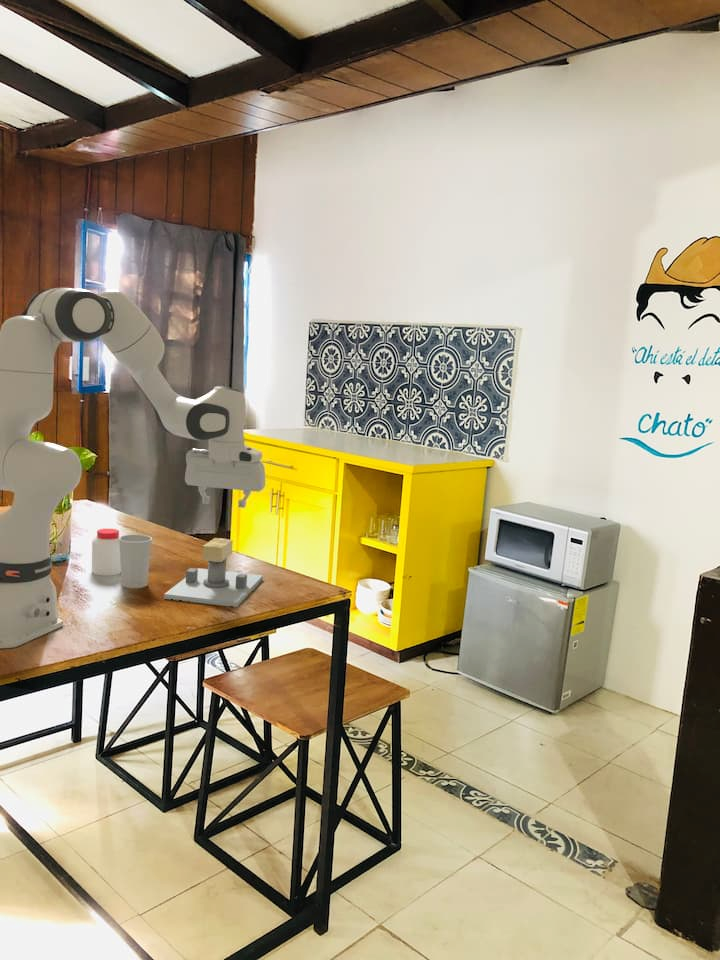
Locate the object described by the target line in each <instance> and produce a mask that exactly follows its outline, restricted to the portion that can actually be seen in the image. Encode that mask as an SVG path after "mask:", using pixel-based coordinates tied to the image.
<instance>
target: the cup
mask: <svg viewBox="0 0 720 960" xmlns="http://www.w3.org/2000/svg"><path fill="white" fill-rule="evenodd" d="M152 542H153V537H152V536H150V535H146V534H137V533H136V534H124V535H122V536H119V545H120V562H121V573H120V578H121V580H120V582H121V583H120V585H121V587H123V588H127V589H142V588H145V587H147V586H148V579H149V569H150V560H151V553H152V552H151V551H152V544H153V543H152Z"/></svg>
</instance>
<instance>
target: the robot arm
mask: <svg viewBox="0 0 720 960" xmlns="http://www.w3.org/2000/svg"><path fill="white" fill-rule="evenodd" d="M146 315H147V314H145V313H144V312H143V311H142V310H141V308H140V307H139V306H138V305H137V304H136V303H135V302H133V300H132V299H130V297H128V296H127V295H126V294H125V293H123V292H122V291H120V290H118V289H106V290H103V291H101V292H99V293H95V292H94V291H91V290H88V289H84V288H71V287H65V286H64V287H55V288H46V289H43V290H41V291H39V292H37V293H35V294H34V295H33V296H32V297H31V298H30V300H29V301H28V303H27V304H26V307H25V309H24V310H23V312H22V314H21V315H15V316H13V317H9V318H8V319H6V320H5V321H4V322H3V323H2V324H1V328H0V491H7V492H11V493H13V500H12V504H11V506H10V508H9V509H7V510H5V511H3V512H1V513H0V649H12V648H16V647H18V646H22V645H23V644H27V643H29V642H31V641H32V640H34V639H37V638H39V637H42V636H43V635H46V634H48V633H51V632H52V631H54V630H57V629H60V628H62V627H63V626H64V621H63V619H61V618H60V617H59V612H58V611H59V610H58V597H57V596H58V595H57V588H56V587H57V586H55V584H54V583H53V581H52V580H53V579H52V578H51V574H52V566H53V562H52V556H51V555H50V540H51V526H52V519H53V516H54V514H55V511H56V509H57V507H58V505H59V504H60V502H61V501H62V500H63V499H64V498H65V497H66V496H68V495H69V494H70V493H72V492H73V491H74V490H75V489H76V487H77V486H78V485H79V483H80V481H81V479H82V472H83V469H82V462H81V460H80V457H79V455H78V453H77V452H75V450H73V449H72V448H68V447H65V446H63V445H60V444H57V443H53V442H47V441H38V440H32V439H31V440H30V435H31V431H32V429H33V427H34V425H35V424H36V423H37V422H40V421H41V420H43V419H45V418H46V417H48V416H49V414H50V413H51V411H52V409H53V405H54V378H55V377H54V375H55V363H54V362H55V360H54V359H55V355H56V351H57V349H58V347H59V345H60V344H61V343H62V342H63V343H86V342H90V341H93V340H95V339H97V338H98V339H99V340H100V341H102V343H104V345H105V347H106V348H107V349H108V350H109V352H111V354H112V356H114V358H115V359H117V361H118V363H120V364H121V365H122V367H123V368H124V369H125V370H126V371H127V373H128V374H129V376H130V377H131V380H133V382H134V383H135V385H136V386H137V387H138V388H139V390H140V392H141V393H142V394H143V395H144V397H145V398H146V399H147V401H148V402H149V403H150V406H151V407H152V409H153V412H154V415H155V418H156V421H157V424H158V426H159V427H160V430H161V431H163V432H164V433H165V434H167V435H169V436H174V437H182V438H185V439H191V440H195V441H206V440H207V441H208V449H203V448H202V449H198V448H192V449H190V450H188V451H187V452H186V454H185V463H186V466H185V467H186V468H185V475H184V482H185V483H186V485H188V486H195V487H198V492H199V494H200V496H201V498H202V501H201V504H203V505H209V504H210V502H211V501H210V500H211V496H210V495H209V496H208V495H207V492H206V491H205V490H207V488H215V489H227V490H235V491H236V490H237V491H242V492H243V493H242V494H243V495H244V496H243V498H242V499H239V500H238V506H237V507H238V508H246V505H247V500H248V498H249V497H250V496H251V494H252V492H258V493H259V492H261V491H263V490H264V489H265V487H266V470H265V465H264V463H263V461H261V460H262V459H263V452H261V451H260V450H258V449H255V448H253V447H250V446H248V445H246V444H245V435H244V429H245V427H246V417H247V416H246V415H247V414H246V413H247V407H246V399H245V395H244V393H243V392H242V391H241V390H239V389H237V388H233V387H227V386H223V385H217V386H214V387H213V389H212V390H210V391H209V392H208V393H206V394H205V395H203V396H200V397H198V398H194V399H193V398H189V397H185V396H183V395H180V394H179V393H177V392H175V390H173V388H172V387H171V386H170V384H169V382H168V381H167V380H166V378H165V377H164V375H163V374H162V373H161V371H160V370H159V367H158V365H159V363H161V361H162V359H163V358H164V354H165V348H166V347H165V346H166V345H165V342H164V340H163V338H162V337H161V334H160V333H159V331H158V330H157V328H156V327H155V326H154V324H153V323H152V322H151V320H150V319H149V318H148V317H147V316H146Z"/></svg>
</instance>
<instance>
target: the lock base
mask: <svg viewBox="0 0 720 960" xmlns="http://www.w3.org/2000/svg"><path fill="white" fill-rule="evenodd" d="M226 568H227V561H226V562H224V563H212V562H209V561H207V568H200V567H199V568H198V567H197V568H194V567H190V568H188V569H187V570H186V571H185V578H183V579H182V580H180V581H179V582H178V583H177V584H175V585H174V586H172V587H171V588H170V589H169V590H167V591H166V592H165V593H163V595H164V596H163V597H164V598H163V599H164V600H165V599H166V600H171V599H173V600H172V601H179V600H182V601H181V602H188V601H189V603H197V604H205V605H206V604H207V605H212V606H213V605H215V606H222V607H230V606H233V607H232V608H238V607H239V605H240V604H242V602H243V601H244V600H245V599H246V598H247V597H248V596H249V595H250V594H251V593H252V592H251V591H254V589H256V587H257V586H258V585H259V584H260V583H261V582H262V581H263V579H264V578H263V577H264V576H263V574H262V575H261V574H252V573H243V572H235V571H234V572H233V571H227V570H226ZM250 592H251V593H250ZM249 593H250V594H249ZM248 594H249V595H248Z"/></svg>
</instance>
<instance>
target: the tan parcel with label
mask: <svg viewBox="0 0 720 960" xmlns="http://www.w3.org/2000/svg"><path fill="white" fill-rule="evenodd" d="M232 553H233V539H229V538H221V537H220V538H219V537H214V538H213V539H211V540H209V541H207V542H206V543H205V544H204V545H202V558H201V559H202V561H207V562H208V561H209V562H212V563H224V562H226V563H227V559H228V557H230V555H232Z"/></svg>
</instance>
